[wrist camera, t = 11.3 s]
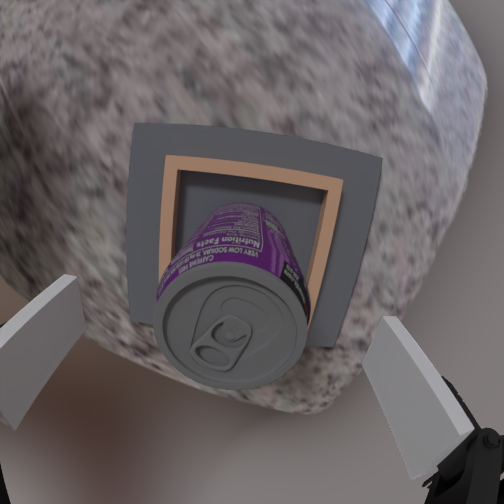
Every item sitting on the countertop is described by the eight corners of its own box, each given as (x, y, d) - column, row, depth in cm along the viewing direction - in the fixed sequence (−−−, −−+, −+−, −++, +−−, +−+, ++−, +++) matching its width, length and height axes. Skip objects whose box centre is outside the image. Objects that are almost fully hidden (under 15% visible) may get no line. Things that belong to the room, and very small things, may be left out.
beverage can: (253, 301, 23) (252, 414, 12) (181, 256, 22) (120, 346, 11) (304, 235, 21) (355, 316, 10) (229, 182, 20) (195, 210, 9)
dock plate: (134, 315, 25) (126, 327, 23) (139, 124, 19) (128, 121, 17) (331, 341, 26) (336, 354, 24) (377, 158, 20) (389, 158, 18)
